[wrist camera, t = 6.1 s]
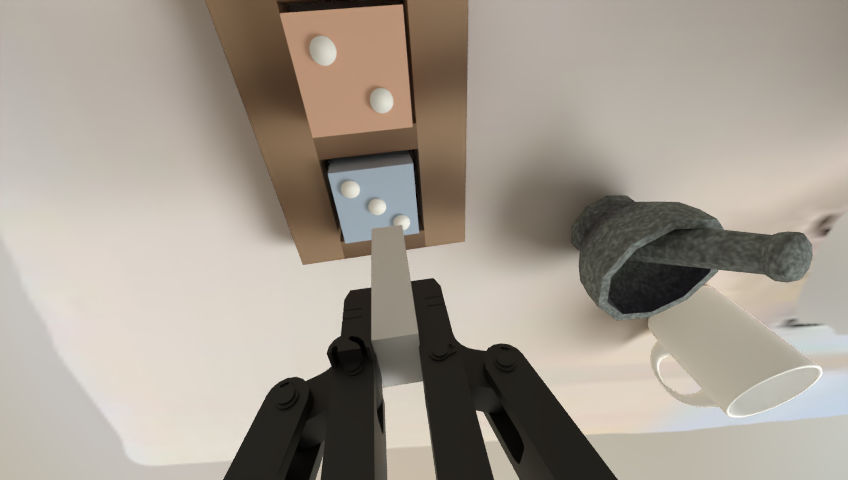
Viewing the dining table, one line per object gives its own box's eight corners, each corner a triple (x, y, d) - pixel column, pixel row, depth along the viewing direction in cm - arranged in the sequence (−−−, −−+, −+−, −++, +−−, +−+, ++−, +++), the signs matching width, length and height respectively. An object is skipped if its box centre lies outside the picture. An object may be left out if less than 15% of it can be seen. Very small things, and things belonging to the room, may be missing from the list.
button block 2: (293, 14, 15) (278, 13, 12) (396, 7, 16) (403, 4, 13) (319, 122, 18) (312, 139, 15) (406, 113, 18) (413, 128, 16)
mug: (609, 341, 40) (679, 431, 31) (689, 273, 34) (800, 358, 26) (650, 353, 43) (722, 437, 34) (728, 293, 38) (837, 374, 29)
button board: (117, -313, 11) (60, -390, 9) (455, -306, 12) (474, -373, 10) (308, 244, 25) (302, 264, 23) (456, 224, 26) (464, 241, 24)
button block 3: (331, 155, 21) (327, 175, 18) (407, 147, 21) (413, 164, 18) (347, 220, 23) (345, 245, 21) (413, 211, 24) (419, 234, 21)
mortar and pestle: (605, 275, 32) (709, 384, 23) (533, 256, 29) (617, 373, 20) (690, 178, 27) (874, 266, 17) (612, 143, 24) (784, 225, 14)
